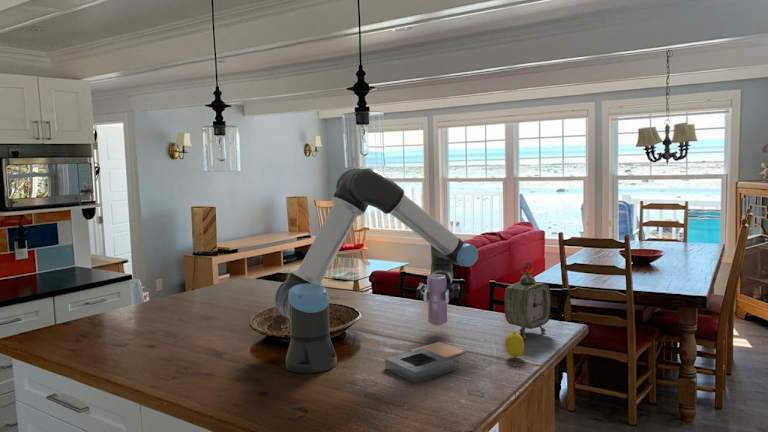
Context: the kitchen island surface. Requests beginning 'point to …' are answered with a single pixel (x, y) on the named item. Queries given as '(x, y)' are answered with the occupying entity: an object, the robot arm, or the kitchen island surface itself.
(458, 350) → the terracotta tile
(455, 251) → the robot arm
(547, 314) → the tabletop clock
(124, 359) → the kitchen island surface
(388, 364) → the socket block
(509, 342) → the lemon
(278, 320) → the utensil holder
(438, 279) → the beverage can
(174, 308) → the kitchen island surface
